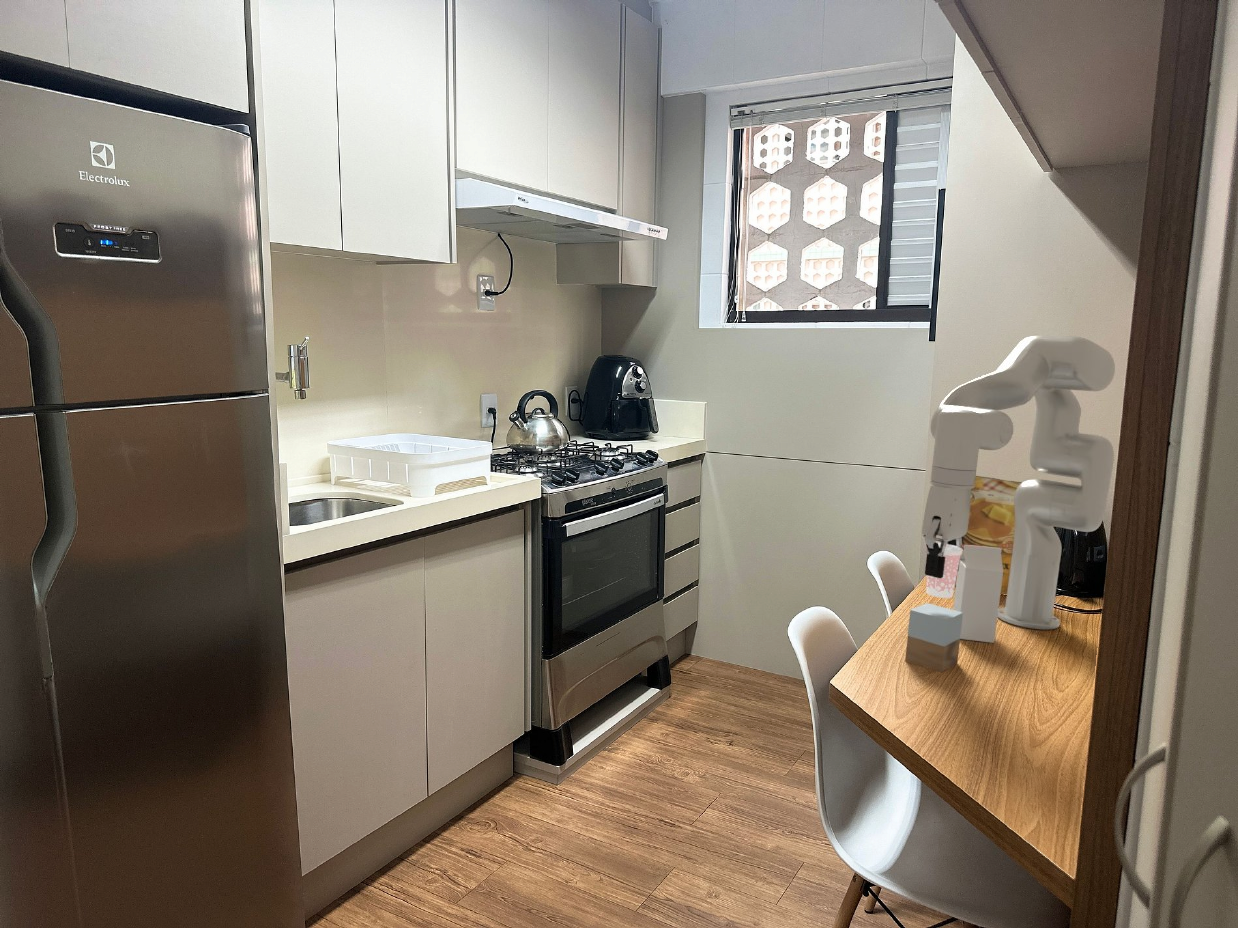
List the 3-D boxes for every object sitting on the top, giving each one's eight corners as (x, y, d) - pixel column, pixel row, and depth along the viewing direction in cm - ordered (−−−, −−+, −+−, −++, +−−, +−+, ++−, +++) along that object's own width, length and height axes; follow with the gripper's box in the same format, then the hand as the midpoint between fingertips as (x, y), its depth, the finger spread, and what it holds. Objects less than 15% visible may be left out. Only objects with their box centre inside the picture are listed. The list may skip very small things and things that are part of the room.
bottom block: (921, 652, 162) (924, 627, 161) (957, 663, 157) (960, 638, 156) (904, 661, 157) (907, 635, 156) (941, 672, 152) (944, 646, 151)
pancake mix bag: (944, 578, 218) (957, 472, 214) (1024, 593, 208) (1039, 482, 204) (938, 583, 213) (950, 474, 209) (1019, 599, 202) (1034, 485, 198)
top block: (924, 627, 161) (926, 602, 161) (960, 638, 156) (963, 612, 156) (907, 635, 156) (910, 609, 156) (944, 646, 151) (947, 619, 151)
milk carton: (994, 643, 169) (1005, 552, 167) (957, 639, 171) (968, 548, 168) (986, 632, 176) (997, 544, 173) (950, 628, 178) (961, 540, 175)
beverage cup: (962, 595, 155) (971, 521, 153) (948, 601, 151) (957, 525, 149) (930, 587, 159) (938, 515, 157) (916, 592, 155) (924, 519, 153)
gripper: (951, 471, 161) (941, 562, 163) (912, 477, 148) (901, 576, 151) (991, 477, 156) (980, 570, 158) (953, 484, 143) (941, 586, 146)
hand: (941, 572), depth 154 cm, fingers closed on beverage cup, 6 cm apart
